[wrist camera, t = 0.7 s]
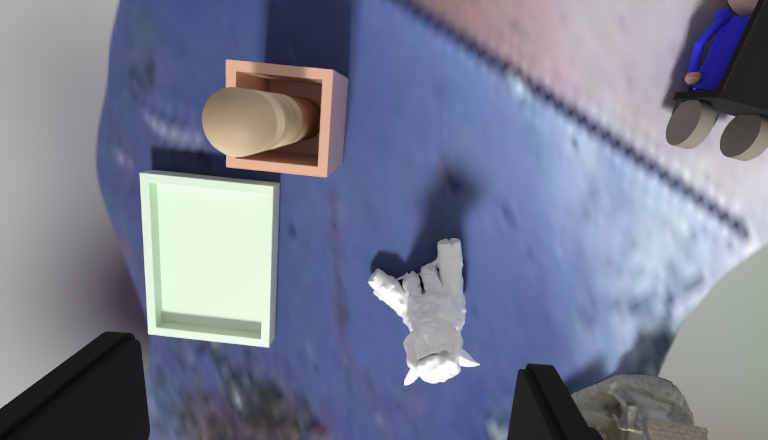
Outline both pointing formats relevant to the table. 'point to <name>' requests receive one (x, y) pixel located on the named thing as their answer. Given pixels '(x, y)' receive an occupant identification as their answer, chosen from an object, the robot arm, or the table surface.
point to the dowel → (257, 120)
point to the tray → (210, 256)
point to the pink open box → (312, 83)
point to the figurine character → (727, 84)
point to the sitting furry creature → (430, 314)
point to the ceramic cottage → (637, 409)
